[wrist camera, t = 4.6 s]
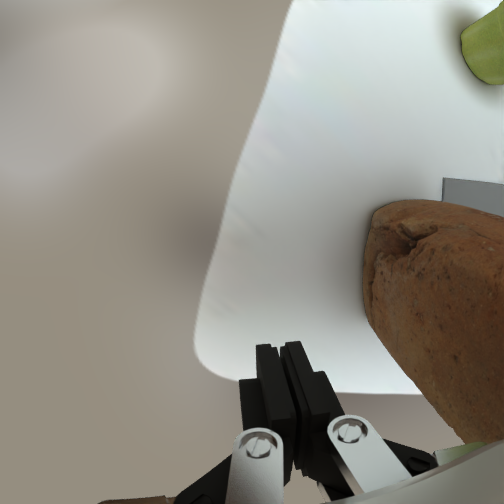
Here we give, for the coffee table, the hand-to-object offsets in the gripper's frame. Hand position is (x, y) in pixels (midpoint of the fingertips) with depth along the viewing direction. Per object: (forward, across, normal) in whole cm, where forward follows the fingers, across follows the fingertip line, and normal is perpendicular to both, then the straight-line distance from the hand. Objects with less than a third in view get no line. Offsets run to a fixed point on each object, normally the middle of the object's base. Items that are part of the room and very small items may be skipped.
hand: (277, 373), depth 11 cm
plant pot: (+12, -23, -20) cm, 33 cm away
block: (+12, -12, 0) cm, 17 cm away
